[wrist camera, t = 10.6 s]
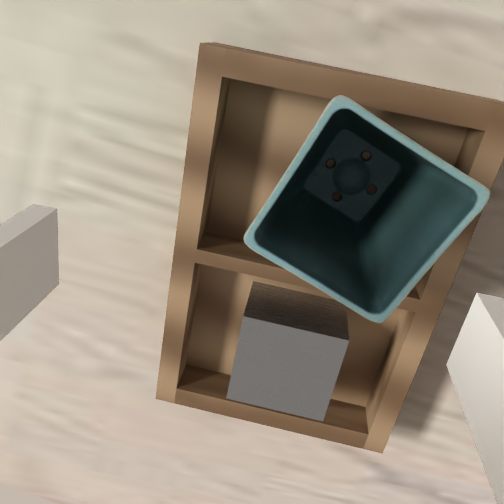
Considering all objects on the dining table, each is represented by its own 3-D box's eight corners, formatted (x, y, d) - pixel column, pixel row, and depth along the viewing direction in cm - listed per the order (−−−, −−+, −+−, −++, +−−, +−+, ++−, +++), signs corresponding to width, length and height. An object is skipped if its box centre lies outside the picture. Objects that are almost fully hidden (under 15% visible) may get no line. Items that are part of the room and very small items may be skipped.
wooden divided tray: (214, 42, 30) (199, 42, 27) (499, 100, 30) (523, 109, 26) (170, 367, 41) (155, 398, 38) (377, 416, 40) (382, 453, 37)
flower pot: (333, 75, 29) (336, 90, 21) (450, 152, 30) (497, 194, 22) (259, 192, 33) (239, 243, 25) (366, 258, 34) (380, 328, 26)
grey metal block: (253, 281, 36) (243, 316, 31) (345, 302, 35) (349, 340, 31) (237, 356, 39) (226, 398, 34) (322, 376, 38) (323, 421, 34)
